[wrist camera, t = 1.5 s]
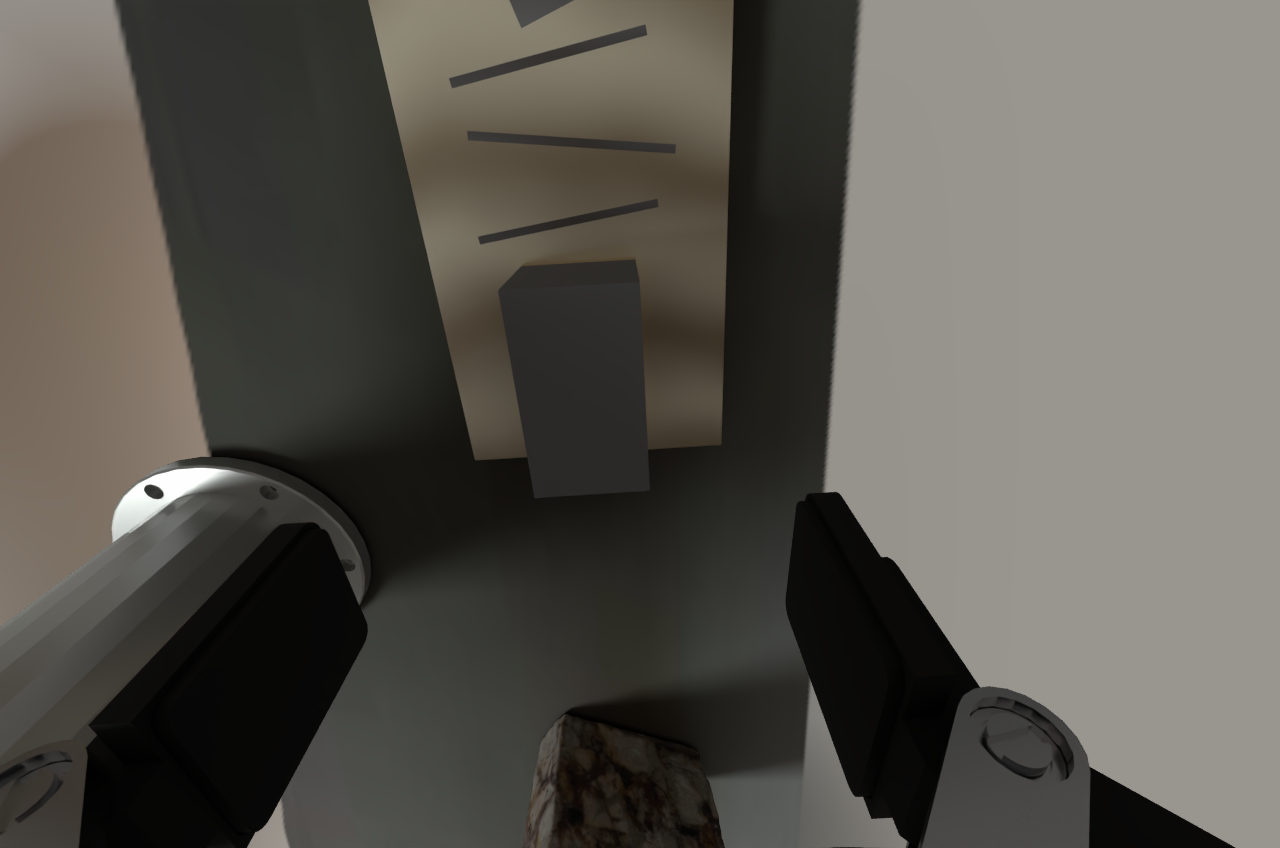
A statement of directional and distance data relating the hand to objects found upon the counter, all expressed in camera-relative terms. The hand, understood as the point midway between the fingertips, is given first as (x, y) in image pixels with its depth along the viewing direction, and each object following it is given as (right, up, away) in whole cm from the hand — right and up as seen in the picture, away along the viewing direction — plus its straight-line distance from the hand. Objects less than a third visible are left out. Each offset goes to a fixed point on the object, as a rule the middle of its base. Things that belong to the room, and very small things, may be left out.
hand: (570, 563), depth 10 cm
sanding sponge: (-1, +6, +12) cm, 13 cm away
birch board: (-1, +13, +10) cm, 17 cm away
